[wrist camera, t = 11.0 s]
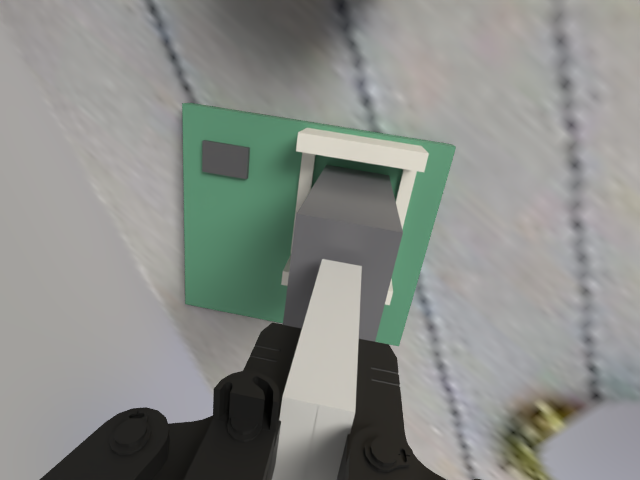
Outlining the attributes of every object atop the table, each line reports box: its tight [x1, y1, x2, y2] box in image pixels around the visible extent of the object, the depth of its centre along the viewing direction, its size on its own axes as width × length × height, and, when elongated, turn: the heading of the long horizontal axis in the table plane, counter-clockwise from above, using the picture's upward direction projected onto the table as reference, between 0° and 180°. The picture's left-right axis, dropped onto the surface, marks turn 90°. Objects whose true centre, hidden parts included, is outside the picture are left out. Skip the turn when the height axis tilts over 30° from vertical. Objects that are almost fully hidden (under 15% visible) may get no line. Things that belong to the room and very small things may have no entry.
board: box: [182, 103, 456, 346], centre depth 24 cm, size 15×17×4 cm
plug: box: [283, 165, 403, 342], centre depth 19 cm, size 7×4×10 cm, turn 172°
